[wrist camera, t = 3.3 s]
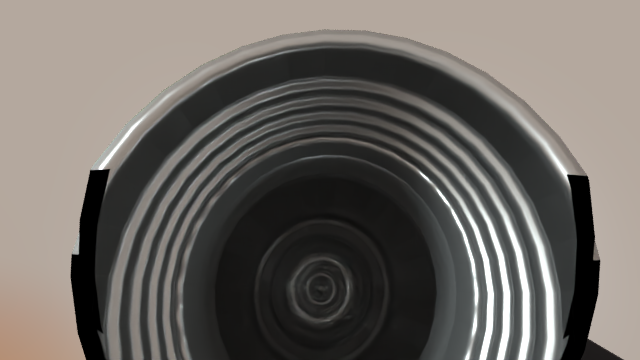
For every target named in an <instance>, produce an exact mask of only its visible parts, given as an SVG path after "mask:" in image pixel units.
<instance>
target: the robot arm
mask: <svg viewBox="0 0 640 360" xmlns="http://www.w3.org/2000/svg"><path fill="white" fill-rule="evenodd" d="M581 360H623V359H621V358H620V357H618V356H616V355H615V354H613V353H611V352H609V351H608V350H606V349H604V348H603V347H601V346H599V345H597V344H596V343H594V342H593V341H591V340H589V339H587V343H586V347H585V351H584V353H583V356H582V358H581Z"/></svg>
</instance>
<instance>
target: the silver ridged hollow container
mask: <svg viewBox="0 0 640 360" xmlns="http://www.w3.org/2000/svg"><path fill="white" fill-rule="evenodd" d="M79 229H80V230H79V234H78V238H77V241H76V243H75V246H74V249H73V252H72V258H71V284H72V292H73V299H74V307H75V314H76V323H77V330H78V335H79V338H80V342H81V345H82V348H83V351H84V354H85V357H86V360H581V358H582V356H583V353H584V351H585V347H586V343H587V339H588V334H589V330H590V326H591V322H592V318H593V314H594V310H595V305H596V301H597V297H598V288H599V271H600V258H599V254H598V250H597V247H596V243H595V234H594V225H593V214H592V205H591V195H590V185H589V179H588V176H587V175H586V173H585V172H584V170H583V169H582V167H581V166H580V165H579V163H578V162H577V160H576V159H575V158H574V156H573V155H572V153H571V152H570V151H569V149H568V148H567V147H566V145H565V144H564V142H563V141H562V139H561V138H560V137H559V136H558V135H557V134H556V133H555V132H554V131H553V129H551V127H549V125H548V124H547V123H546V122H545V121H544V120H543V119H542V118H541V117H540V116H539V115H538V114H537V113H536V112H535V111H534V110H533V109H532V108H531V107H530V106H529V105H528V104H527V103H526V102H525V101H524V100H522V99H521V98H520V97H518V96H517V95H516V94H514V93H513V92H512V91H510V90H509V89H508V88H506V87H505V86H504V85H502V84H501V83H500V82H498V81H497V80H496V79H494V78H493V77H491V76H490V75H489V74H487V73H486V72H484V71H482V70H480V69H478V68H476V67H474V66H473V65H471V64H469V63H467V62H465V61H463V60H461V59H459V58H457V57H456V56H453V55H452V54H450V53H448V52H445V51H443V50H440V49H437V48H434V47H431V46H428V45H425V44H422V43H419V42H416V41H414V40H410V39H408V38H403V37H398V36H392V35H387V34H381V33H375V32H370V31H356V30H318V31H310V32H301V33H294V34H286V35H281V36H277V37H274V38H270V39H267V40H263V41H260V42H257V43H253V44H249V45H246V46H242V47H240V48H238V49H235V50H233V51H231V52H229V53H227V54H225V55H222V56H220V57H218V58H216V59H214V60H212V61H209V62H207V63H205V64H203V65H201V66H200V67H198V68H196V69H195V70H194V71H192V72H190V73H189V74H187V75H186V76H184V77H183V78H181V79H180V80H178V81H177V82H175V83H174V84H172V85H171V86H170V87H168V88H166V89H165V90H163V91H162V92H161V93H160V94H159V95H158V96H157V97H155V98H154V99H153V100H152V101H151V102H150V103H149V104H148V105H147V106H146V107H145V108H143V109H142V110H141V111H140V112H139V113H138V114H137V115H136V116H135V117H133V118H132V119H131V120H130V121H129V122H128V123H127V124H126V125H125V126H124V128H123V129H122V130H121V131H120V132H119V134H118V135H117V136H116V138H115V139H114V140H113V141H112V143H111V144H110V145H109V146H108V147H107V149H106V150H105V151H104V152H103V154H102V155H101V156H100V157H99V159H98V160H97V161H96V162H95V164H94V165H93V166H92V168H91V170H90V175H89V180H88V184H87V188H86V193H85V198H84V203H83V207H82V212H81V217H80V228H79Z"/></svg>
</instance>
